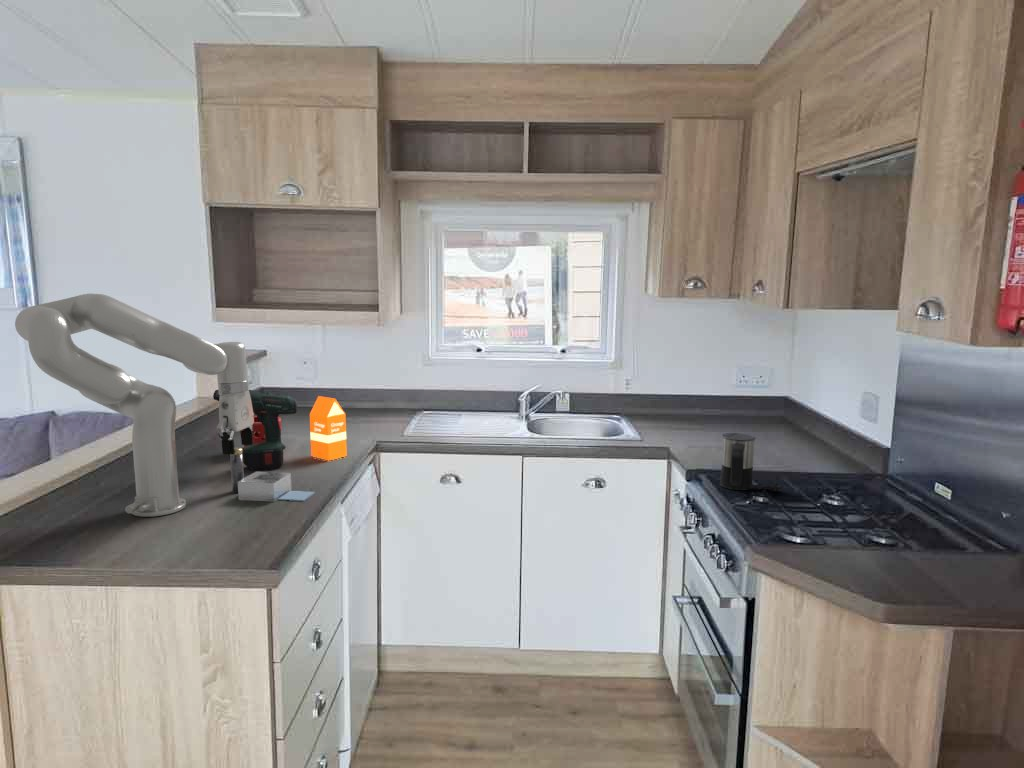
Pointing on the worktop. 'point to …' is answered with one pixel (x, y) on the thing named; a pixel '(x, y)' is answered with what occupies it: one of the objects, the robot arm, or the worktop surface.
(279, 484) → the block
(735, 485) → the milk frother
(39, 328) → the robot arm
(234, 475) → the metal cylinder with cap
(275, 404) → the power drill
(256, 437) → the plant pot
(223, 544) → the worktop surface
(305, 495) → the rubber mat
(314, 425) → the orange juice
